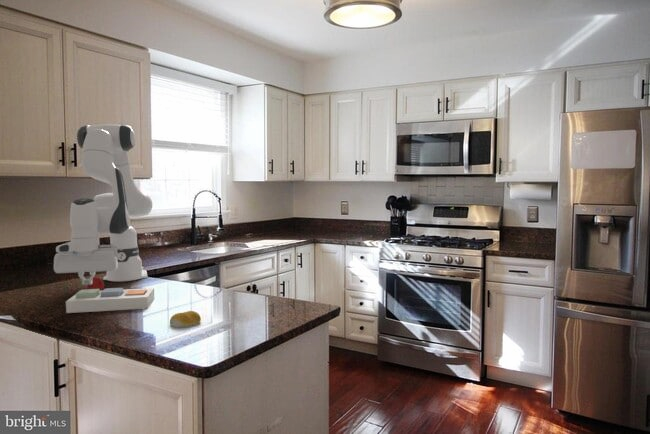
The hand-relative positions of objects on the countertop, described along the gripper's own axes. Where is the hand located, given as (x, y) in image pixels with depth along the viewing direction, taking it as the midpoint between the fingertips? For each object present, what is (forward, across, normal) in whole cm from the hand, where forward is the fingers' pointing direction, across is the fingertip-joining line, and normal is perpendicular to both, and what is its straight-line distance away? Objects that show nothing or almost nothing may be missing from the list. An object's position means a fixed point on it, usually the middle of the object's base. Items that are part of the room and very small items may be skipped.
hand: (87, 284), depth 164 cm
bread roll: (+9, -36, +28) cm, 46 cm away
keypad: (+8, -8, 0) cm, 11 cm away
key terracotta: (+6, -16, 0) cm, 17 cm away
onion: (+8, +2, -17) cm, 19 cm away
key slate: (+5, -8, 0) cm, 10 cm away
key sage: (+5, 0, 0) cm, 5 cm away
